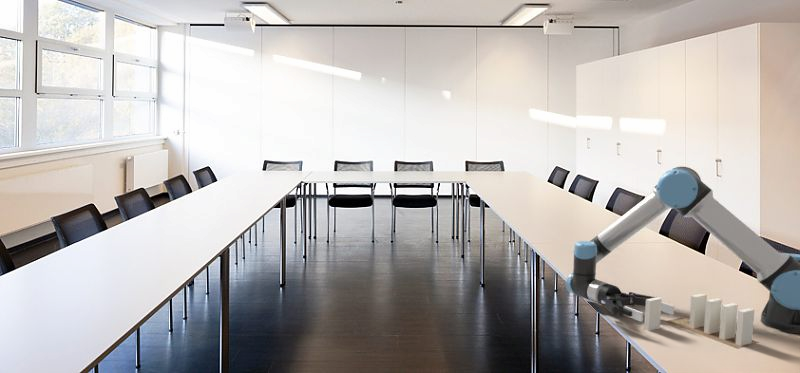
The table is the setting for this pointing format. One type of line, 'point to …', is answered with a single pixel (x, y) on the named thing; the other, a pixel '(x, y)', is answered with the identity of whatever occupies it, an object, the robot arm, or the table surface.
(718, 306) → the domino
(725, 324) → the domino
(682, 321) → the board
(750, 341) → the domino
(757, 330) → the table surface
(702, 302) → the domino
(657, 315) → the domino
